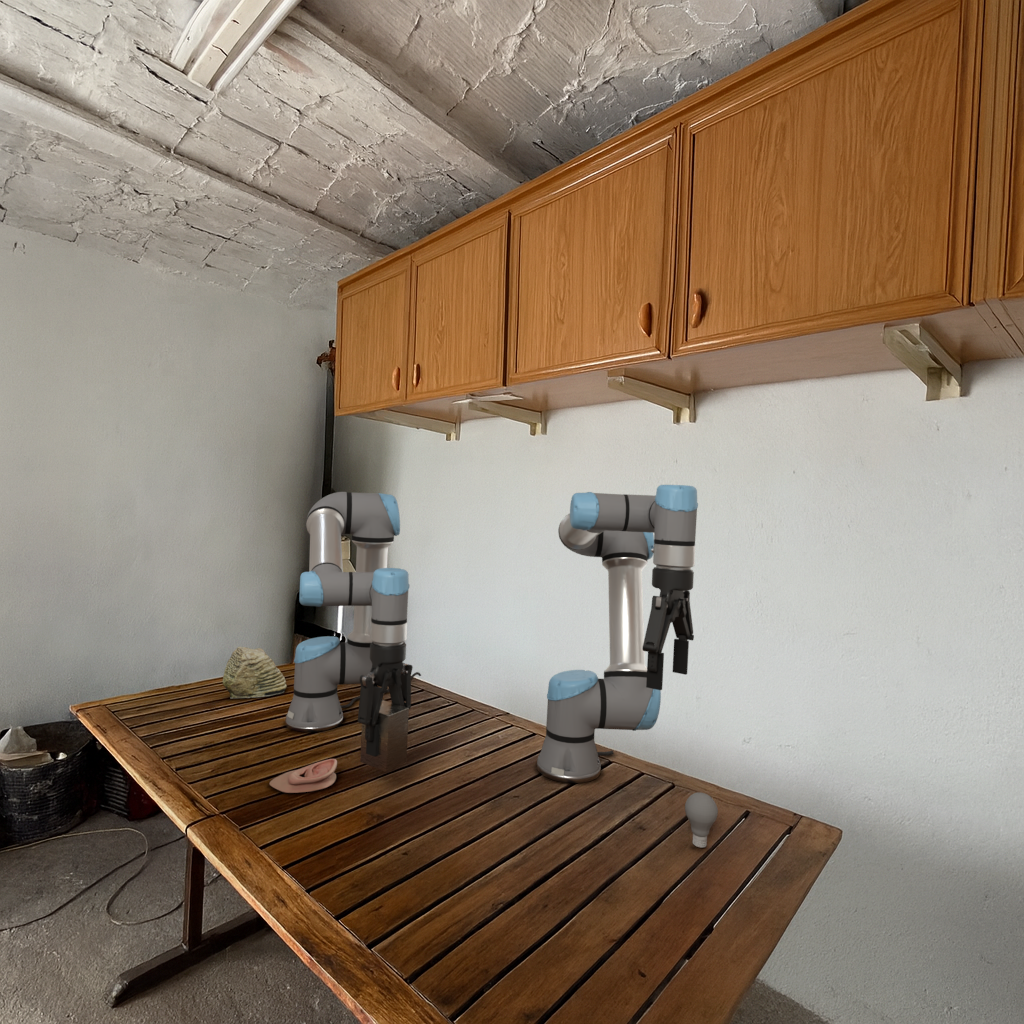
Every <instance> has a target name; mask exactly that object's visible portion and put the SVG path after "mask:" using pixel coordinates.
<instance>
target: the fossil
mask: <svg viewBox="0 0 1024 1024" xmlns="http://www.w3.org/2000/svg"><path fill="white" fill-rule="evenodd" d="M222 676H223V677H222V685H223V687H224V688H225V690H226V691H228V693H229V698H230V699H250V698H264V697H271V696H275V695H281V694H284V693H285V691H286V689H287V687H288V686H287V680H286V678H285V676H284V674H283V673H282V672H281V669H279V668H278V667H277V665H276V663H275V662H274V660H273V659H272V658H271V657H270V656H269V655H268V654H267V653H266V652H265V650H264V649H263V648H260V647H258V648H251V647H247V646H246V647H245V646H238V647H237V648H236V649H235V650H233V651H232V653H231V656H230V657H229V659H228V660H227V663H226V666H225V668H224V671H223V675H222Z"/></svg>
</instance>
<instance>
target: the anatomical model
mask: <svg viewBox="0 0 1024 1024" xmlns="http://www.w3.org/2000/svg"><path fill="white" fill-rule="evenodd" d="M337 766H338V760H337V759H336V758H329V759H324V760H321V761H318V762H315V763H314V762H313V763H312V764H309V765H306V766H303V767H301V768H298V769H294V770H289V771H287V772H284V773H282V774H279V775H277V776H276V777H274V778H273V779H271V780H270V781H269V786H270V787H272V788H273V789H275V790H277V791H279V792H282V793H286V794H294V793H295V794H296V793H297V794H299V793H306V792H307V793H308V792H315V791H319V790H320V791H321V790H323V789H326V788H328V787H330V786H332V785H333V784H334V783H335V782H336V780H337V773H335V771H336V769H337V768H338V767H337Z"/></svg>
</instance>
